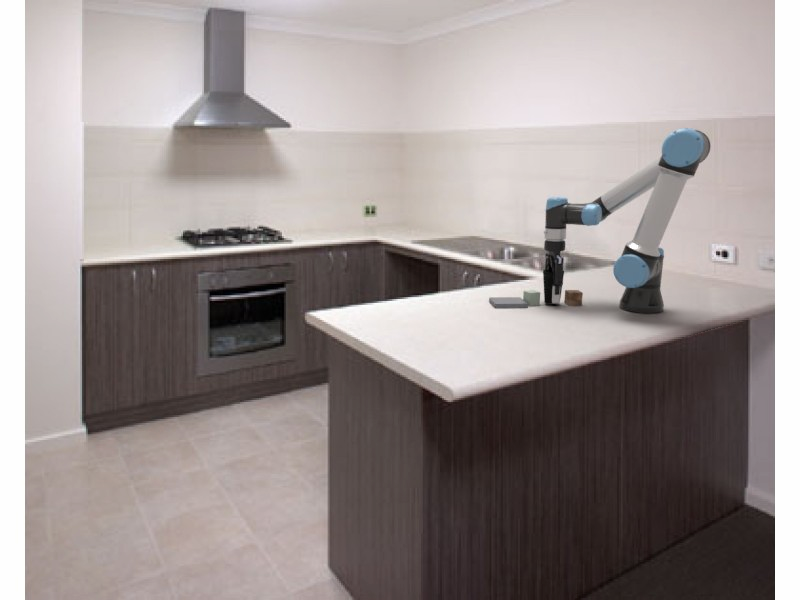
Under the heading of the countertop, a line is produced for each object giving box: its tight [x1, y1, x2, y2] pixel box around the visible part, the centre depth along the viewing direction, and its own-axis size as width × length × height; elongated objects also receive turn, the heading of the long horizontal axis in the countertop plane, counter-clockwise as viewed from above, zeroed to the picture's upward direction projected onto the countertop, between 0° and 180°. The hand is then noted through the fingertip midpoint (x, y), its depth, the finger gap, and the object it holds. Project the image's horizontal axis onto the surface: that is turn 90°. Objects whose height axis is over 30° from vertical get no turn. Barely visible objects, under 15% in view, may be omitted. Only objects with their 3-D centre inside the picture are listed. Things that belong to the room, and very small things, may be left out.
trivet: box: [488, 296, 529, 309], centre depth 237 cm, size 12×11×2 cm
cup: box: [542, 269, 565, 305], centre depth 236 cm, size 8×8×12 cm
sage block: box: [522, 289, 541, 307], centre depth 237 cm, size 4×4×5 cm
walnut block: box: [563, 289, 583, 307], centre depth 238 cm, size 5×5×5 cm
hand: (552, 300), depth 238 cm, fingers closed on cup, 8 cm apart
